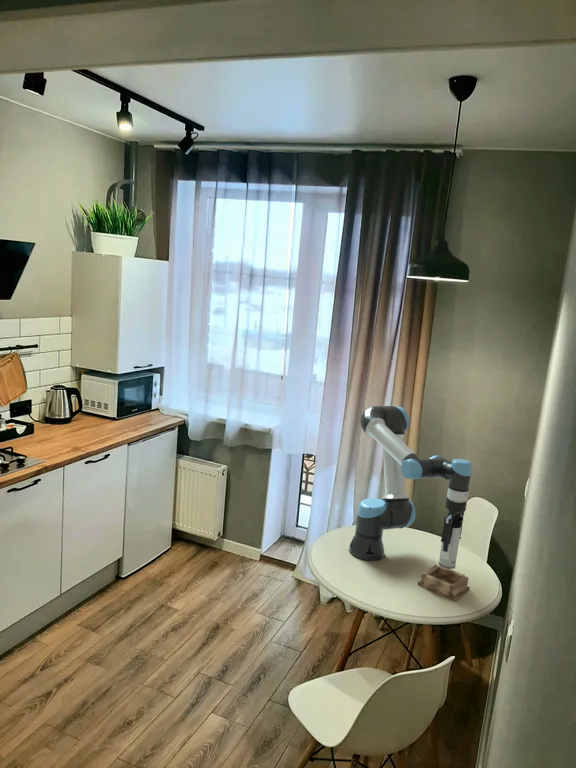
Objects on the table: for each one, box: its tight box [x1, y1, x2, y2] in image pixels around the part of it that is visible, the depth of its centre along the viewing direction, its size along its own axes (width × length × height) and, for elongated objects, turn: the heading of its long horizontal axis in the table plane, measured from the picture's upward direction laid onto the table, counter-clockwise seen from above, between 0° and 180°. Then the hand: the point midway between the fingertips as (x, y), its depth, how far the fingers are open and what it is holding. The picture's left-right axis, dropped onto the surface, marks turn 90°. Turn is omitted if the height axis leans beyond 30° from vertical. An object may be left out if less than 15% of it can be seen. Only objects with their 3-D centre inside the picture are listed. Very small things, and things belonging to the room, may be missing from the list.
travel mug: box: [438, 516, 464, 570], centre depth 222 cm, size 6×7×20 cm
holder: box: [417, 564, 471, 602], centre depth 224 cm, size 16×14×5 cm
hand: (448, 556), depth 223 cm, fingers closed on travel mug, 6 cm apart
